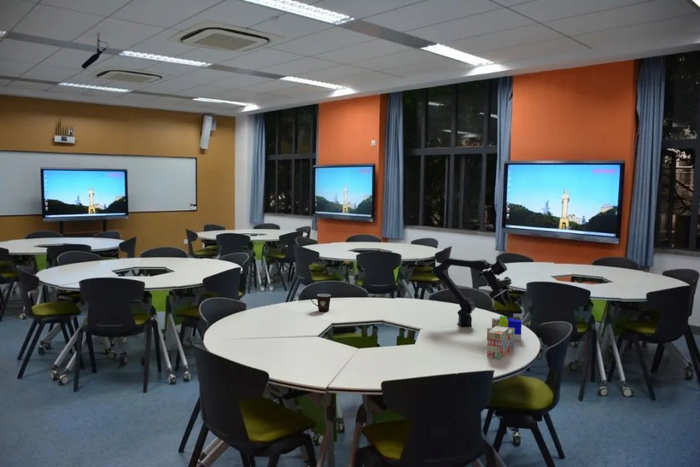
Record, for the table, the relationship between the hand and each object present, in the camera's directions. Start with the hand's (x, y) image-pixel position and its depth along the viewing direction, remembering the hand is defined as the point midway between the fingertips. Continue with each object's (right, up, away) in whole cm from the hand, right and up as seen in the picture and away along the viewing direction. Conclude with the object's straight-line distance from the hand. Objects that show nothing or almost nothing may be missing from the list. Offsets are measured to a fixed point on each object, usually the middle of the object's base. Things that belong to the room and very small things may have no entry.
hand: (508, 304), depth 283 cm
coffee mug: (-103, -10, +45) cm, 113 cm away
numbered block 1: (-4, -15, +6) cm, 16 cm away
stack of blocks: (-14, -18, -34) cm, 41 cm away
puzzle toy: (-2, -16, -9) cm, 19 cm away
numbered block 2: (-12, -17, -15) cm, 25 cm away
